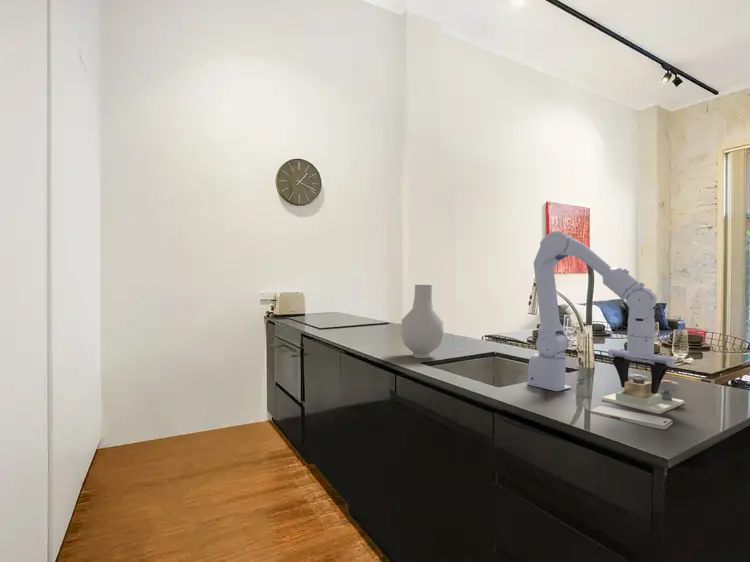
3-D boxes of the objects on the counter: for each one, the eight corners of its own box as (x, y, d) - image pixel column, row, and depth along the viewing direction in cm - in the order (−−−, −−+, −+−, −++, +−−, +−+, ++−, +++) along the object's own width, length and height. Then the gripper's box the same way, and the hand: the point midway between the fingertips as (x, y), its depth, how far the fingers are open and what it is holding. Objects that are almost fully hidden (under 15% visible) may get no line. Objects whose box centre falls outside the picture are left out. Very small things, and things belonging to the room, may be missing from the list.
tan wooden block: (624, 400, 105) (624, 378, 105) (634, 396, 109) (635, 376, 109) (641, 404, 102) (642, 382, 102) (651, 400, 106) (652, 379, 106)
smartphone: (599, 405, 102) (673, 419, 91) (599, 409, 102) (673, 424, 91) (587, 410, 97) (664, 426, 86) (588, 415, 97) (664, 432, 86)
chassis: (601, 400, 108) (602, 378, 108) (628, 391, 117) (629, 371, 117) (659, 413, 97) (660, 389, 97) (684, 403, 107) (684, 381, 107)
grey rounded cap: (651, 392, 108) (652, 380, 108) (659, 389, 111) (659, 377, 111) (674, 396, 104) (674, 384, 104) (681, 393, 107) (682, 381, 107)
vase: (424, 352, 175) (426, 284, 175) (451, 358, 161) (453, 285, 161) (391, 354, 165) (393, 283, 165) (418, 362, 152) (420, 284, 152)
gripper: (680, 338, 102) (678, 394, 102) (617, 332, 114) (615, 381, 114) (669, 340, 98) (667, 398, 98) (605, 333, 110) (603, 385, 110)
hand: (639, 389), depth 106 cm, fingers open, 6 cm apart
